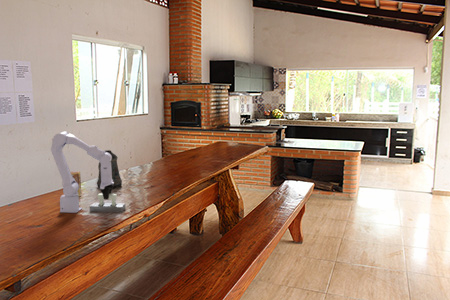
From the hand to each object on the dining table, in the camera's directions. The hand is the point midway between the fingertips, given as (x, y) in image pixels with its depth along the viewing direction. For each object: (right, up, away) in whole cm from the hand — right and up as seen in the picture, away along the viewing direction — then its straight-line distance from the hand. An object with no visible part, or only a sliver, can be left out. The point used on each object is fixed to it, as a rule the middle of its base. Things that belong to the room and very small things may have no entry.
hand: (107, 198), depth 224 cm
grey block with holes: (0, -7, +1) cm, 7 cm away
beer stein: (-13, +1, +49) cm, 51 cm away
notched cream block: (0, -4, +1) cm, 4 cm away
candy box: (-29, -2, +28) cm, 40 cm away
